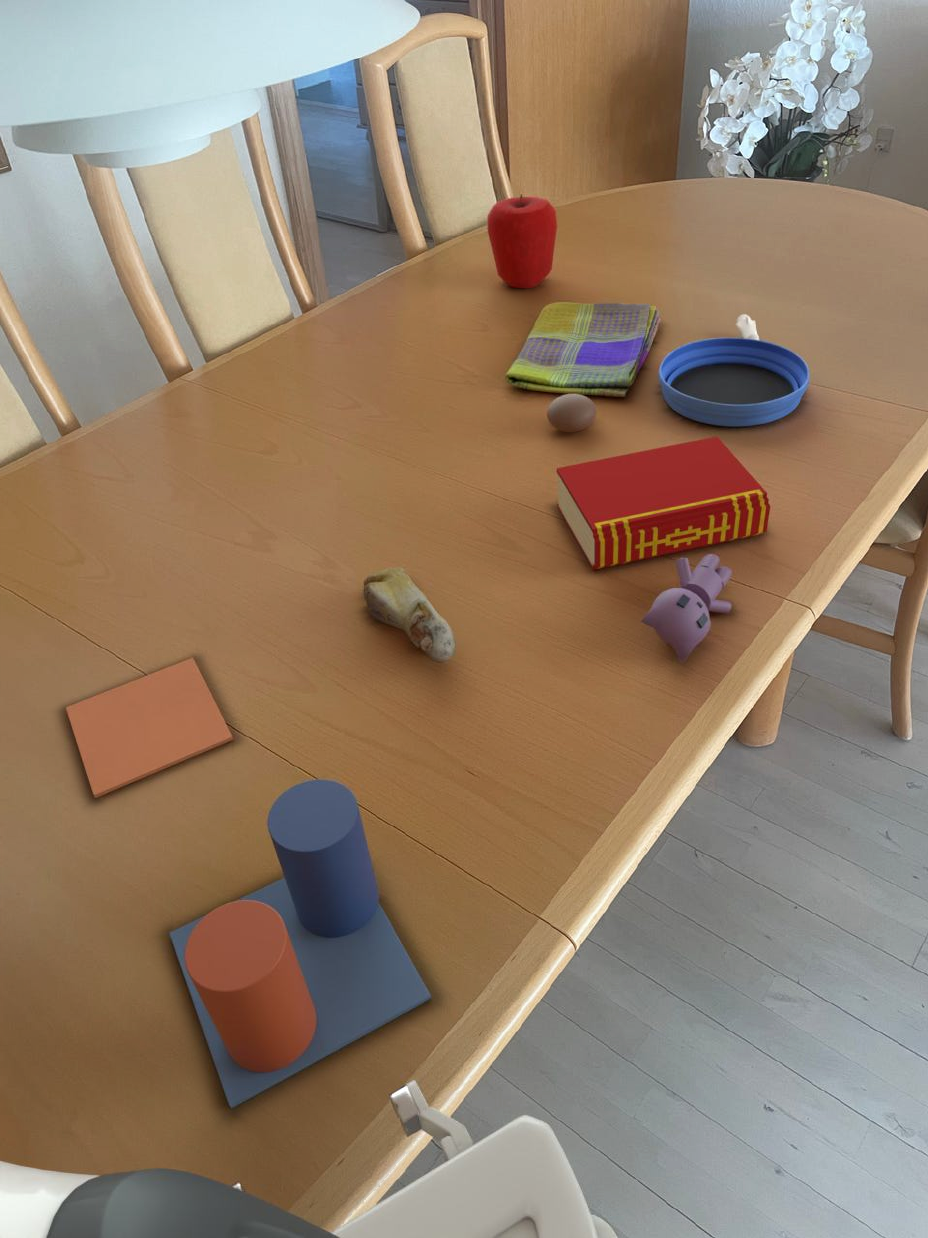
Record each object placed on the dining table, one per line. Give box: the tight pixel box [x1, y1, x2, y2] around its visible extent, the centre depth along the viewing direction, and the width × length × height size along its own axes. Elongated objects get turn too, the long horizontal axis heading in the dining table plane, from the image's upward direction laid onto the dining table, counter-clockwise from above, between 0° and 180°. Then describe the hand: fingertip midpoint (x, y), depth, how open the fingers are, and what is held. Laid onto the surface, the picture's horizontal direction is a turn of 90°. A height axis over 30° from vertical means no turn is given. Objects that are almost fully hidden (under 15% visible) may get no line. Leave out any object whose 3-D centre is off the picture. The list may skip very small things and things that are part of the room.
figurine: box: [640, 553, 733, 665], centre depth 90 cm, size 5×7×12 cm
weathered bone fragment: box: [363, 566, 456, 664], centre depth 92 cm, size 5×5×15 cm
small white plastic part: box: [735, 313, 760, 340], centre depth 133 cm, size 4×6×3 cm, turn 159°
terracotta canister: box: [184, 900, 317, 1072], centre depth 61 cm, size 6×6×10 cm
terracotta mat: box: [65, 657, 234, 799], centre depth 86 cm, size 12×12×1 cm
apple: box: [486, 193, 558, 289], centre depth 151 cm, size 11×10×14 cm
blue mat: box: [168, 877, 432, 1109], centre depth 67 cm, size 14×14×1 cm
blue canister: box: [267, 778, 380, 938], centre depth 67 cm, size 6×6×10 cm
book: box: [556, 436, 771, 571], centre depth 102 cm, size 18×13×5 cm
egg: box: [546, 393, 597, 433], centre depth 119 cm, size 6×6×4 cm
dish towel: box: [504, 301, 662, 398], centre depth 134 cm, size 18×24×3 cm
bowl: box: [658, 337, 810, 428], centre depth 122 cm, size 18×18×4 cm
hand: (317, 1140), depth 49 cm, fingers open, 8 cm apart
